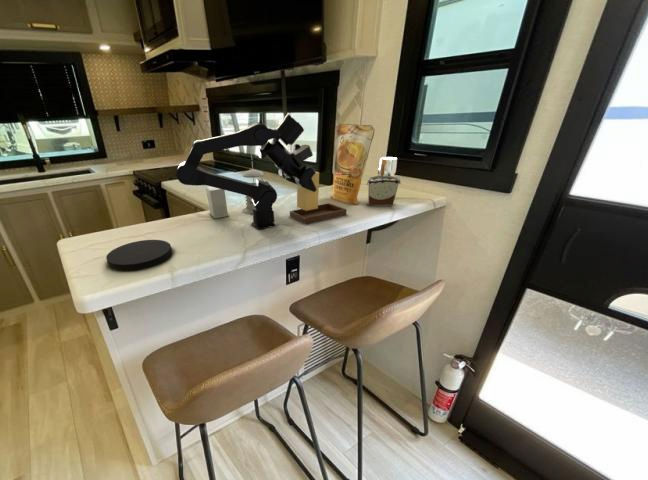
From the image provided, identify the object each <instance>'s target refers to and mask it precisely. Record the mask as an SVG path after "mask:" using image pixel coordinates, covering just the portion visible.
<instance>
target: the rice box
mask: <svg viewBox="0 0 648 480" xmlns="http://www.w3.org/2000/svg"><path fill="white" fill-rule="evenodd" d="M312 180H313V183H314V185H315V187H316V189H317V190H316V191H315V192H313V191H311V190H308V189H305V188H303V187H300V186H298V184H296V208H298V209H303V210H305V211H307V210H312V209H318V205H319V192H320V191H319V187H320V171H319V172H318V171H316V173H315V174H314V175H313V177H312Z"/></svg>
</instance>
